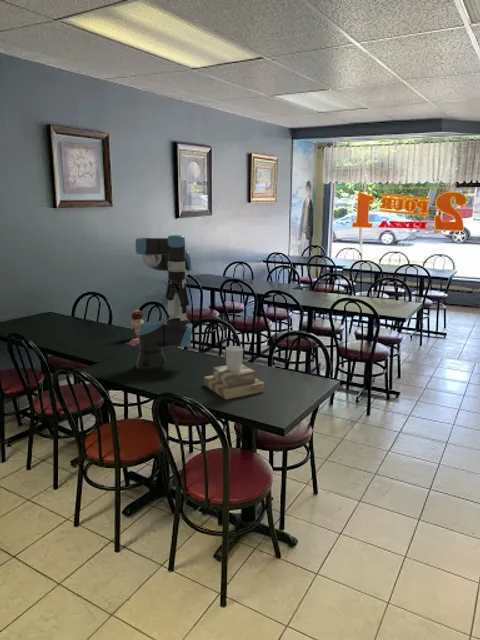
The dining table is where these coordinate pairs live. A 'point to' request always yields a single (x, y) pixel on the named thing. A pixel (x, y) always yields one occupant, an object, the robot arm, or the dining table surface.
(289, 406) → the dining table surface
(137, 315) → the ice cream
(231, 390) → the oak riser
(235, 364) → the white cup
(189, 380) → the dining table surface
